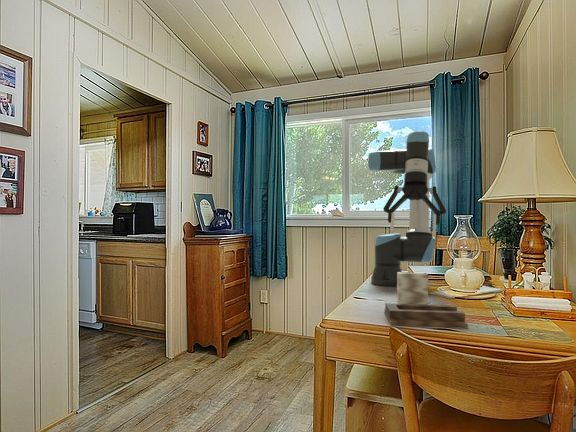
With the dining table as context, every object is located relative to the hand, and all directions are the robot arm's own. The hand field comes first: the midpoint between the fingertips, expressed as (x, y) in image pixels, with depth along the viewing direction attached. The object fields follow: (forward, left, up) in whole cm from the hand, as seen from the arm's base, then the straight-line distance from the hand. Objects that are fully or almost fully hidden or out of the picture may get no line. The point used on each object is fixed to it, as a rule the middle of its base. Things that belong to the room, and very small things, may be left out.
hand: (412, 233), depth 126 cm
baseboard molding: (-42, -15, -28) cm, 52 cm away
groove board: (+3, +9, -27) cm, 28 cm away
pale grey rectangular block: (-5, -5, -27) cm, 28 cm away
